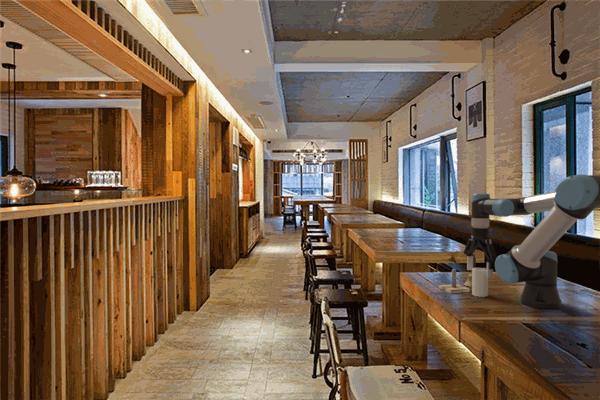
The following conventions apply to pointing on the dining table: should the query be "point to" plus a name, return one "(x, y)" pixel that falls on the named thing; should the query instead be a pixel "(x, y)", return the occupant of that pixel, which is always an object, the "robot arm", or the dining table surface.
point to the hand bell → (469, 279)
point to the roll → (479, 282)
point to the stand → (454, 285)
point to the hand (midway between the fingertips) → (479, 273)
